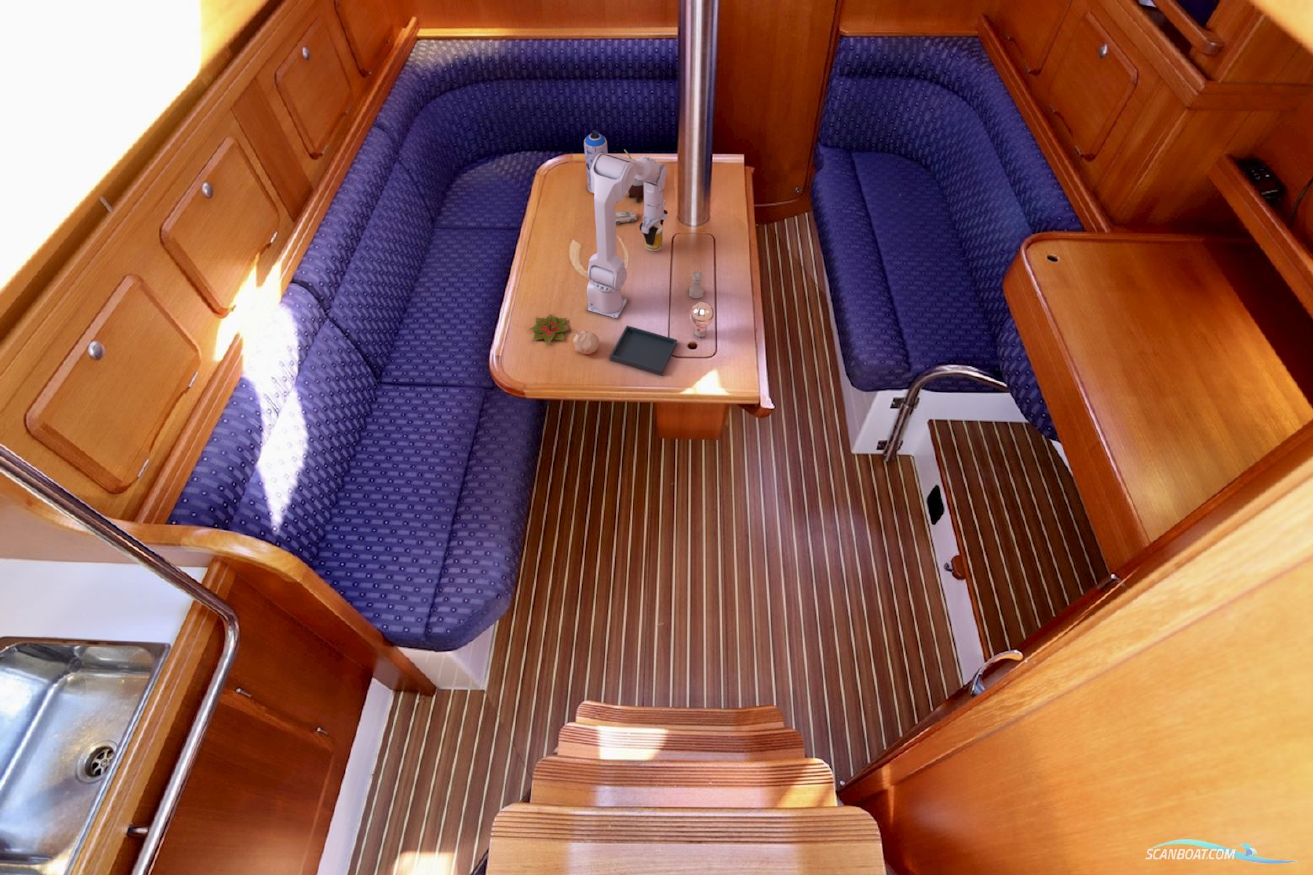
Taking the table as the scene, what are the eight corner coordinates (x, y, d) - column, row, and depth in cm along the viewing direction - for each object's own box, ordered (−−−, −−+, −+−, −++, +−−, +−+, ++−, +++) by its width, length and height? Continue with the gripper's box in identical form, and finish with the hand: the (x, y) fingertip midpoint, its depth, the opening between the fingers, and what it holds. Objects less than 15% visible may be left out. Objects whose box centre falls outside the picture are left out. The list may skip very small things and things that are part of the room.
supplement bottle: (660, 252, 201) (660, 226, 193) (643, 250, 202) (643, 224, 194) (663, 241, 204) (664, 215, 196) (647, 239, 205) (646, 213, 197)
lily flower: (569, 346, 181) (567, 335, 177) (526, 346, 181) (523, 334, 178) (573, 315, 188) (571, 304, 184) (532, 315, 188) (529, 303, 184)
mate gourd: (648, 203, 217) (647, 162, 204) (624, 203, 217) (622, 162, 204) (648, 189, 221) (648, 149, 209) (625, 189, 221) (623, 148, 209)
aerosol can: (585, 182, 223) (580, 126, 207) (608, 178, 224) (604, 123, 208) (589, 195, 219) (584, 140, 203) (612, 192, 220) (609, 137, 204)
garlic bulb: (584, 338, 183) (581, 318, 176) (603, 347, 181) (601, 327, 175) (571, 353, 180) (568, 334, 173) (590, 362, 178) (587, 343, 171)
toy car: (638, 221, 212) (637, 214, 209) (614, 225, 211) (613, 217, 208) (635, 214, 214) (635, 207, 211) (611, 218, 213) (611, 210, 210)
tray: (610, 360, 178) (609, 355, 177) (627, 330, 185) (626, 325, 183) (661, 376, 175) (661, 371, 174) (677, 344, 182) (677, 339, 180)
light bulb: (704, 348, 181) (707, 317, 171) (683, 338, 183) (684, 307, 173) (716, 332, 184) (719, 302, 174) (695, 323, 186) (697, 292, 176)
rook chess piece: (705, 290, 194) (707, 270, 187) (701, 300, 191) (702, 280, 185) (691, 287, 195) (692, 266, 188) (686, 297, 192) (687, 276, 186)
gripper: (657, 218, 185) (657, 256, 196) (674, 189, 192) (673, 227, 203) (634, 212, 186) (635, 250, 197) (652, 184, 194) (652, 222, 205)
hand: (653, 238), depth 200 cm, fingers closed on supplement bottle, 5 cm apart
